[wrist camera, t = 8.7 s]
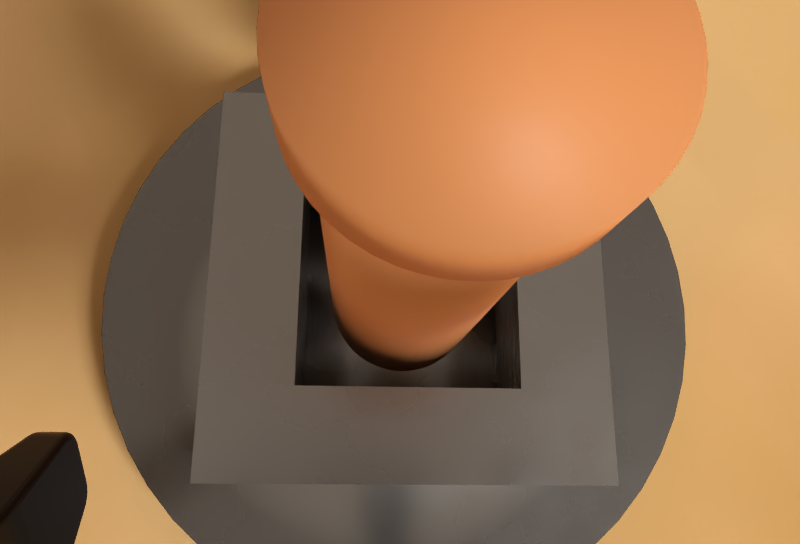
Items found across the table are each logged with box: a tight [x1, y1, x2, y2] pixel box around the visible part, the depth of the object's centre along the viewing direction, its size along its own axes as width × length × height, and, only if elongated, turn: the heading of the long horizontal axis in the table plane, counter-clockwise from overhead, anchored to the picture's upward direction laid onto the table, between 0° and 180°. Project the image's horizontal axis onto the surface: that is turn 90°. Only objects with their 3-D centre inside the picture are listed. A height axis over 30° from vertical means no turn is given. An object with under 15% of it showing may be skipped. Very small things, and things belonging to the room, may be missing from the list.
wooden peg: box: [257, 0, 708, 371], centre depth 13 cm, size 5×5×13 cm
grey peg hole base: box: [102, 77, 686, 544], centre depth 18 cm, size 17×17×6 cm
